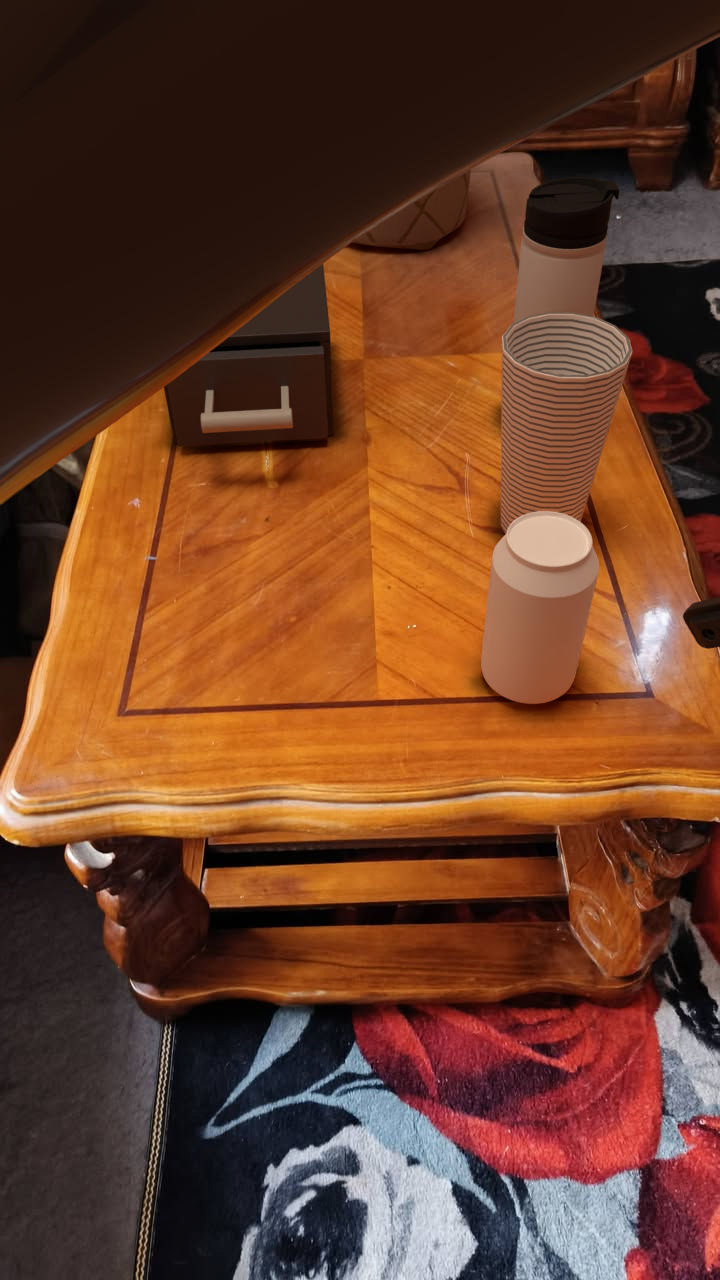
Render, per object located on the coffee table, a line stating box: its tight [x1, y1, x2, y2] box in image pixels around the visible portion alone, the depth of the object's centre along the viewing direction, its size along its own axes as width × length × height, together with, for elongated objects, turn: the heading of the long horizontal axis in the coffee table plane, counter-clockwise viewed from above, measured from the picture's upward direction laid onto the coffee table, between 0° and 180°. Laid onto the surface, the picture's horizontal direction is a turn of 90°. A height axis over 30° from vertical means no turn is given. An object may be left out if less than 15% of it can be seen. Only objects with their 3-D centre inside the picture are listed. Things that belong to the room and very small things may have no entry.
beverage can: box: [480, 511, 600, 705], centre depth 59 cm, size 6×6×12 cm
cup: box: [500, 312, 634, 535], centre depth 68 cm, size 8×8×16 cm
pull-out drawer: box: [167, 342, 329, 447], centre depth 81 cm, size 18×13×8 cm
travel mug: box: [512, 176, 620, 324], centre depth 76 cm, size 6×7×20 cm
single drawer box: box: [163, 263, 335, 445], centre depth 84 cm, size 15×14×10 cm
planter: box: [352, 169, 472, 251], centre depth 105 cm, size 19×19×20 cm
